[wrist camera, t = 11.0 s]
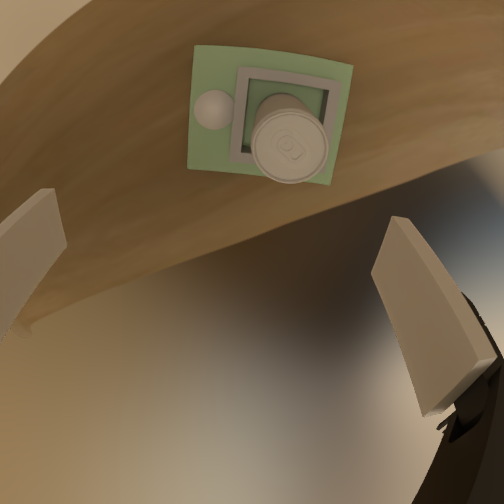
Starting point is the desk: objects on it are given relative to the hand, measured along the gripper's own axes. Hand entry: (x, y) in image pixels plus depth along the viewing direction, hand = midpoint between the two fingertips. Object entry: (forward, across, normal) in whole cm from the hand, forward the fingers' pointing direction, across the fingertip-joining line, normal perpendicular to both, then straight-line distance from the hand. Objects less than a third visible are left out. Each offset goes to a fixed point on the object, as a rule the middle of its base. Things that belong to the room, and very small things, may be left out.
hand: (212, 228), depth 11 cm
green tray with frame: (+22, +2, +1) cm, 22 cm away
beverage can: (+20, +4, +1) cm, 21 cm away
